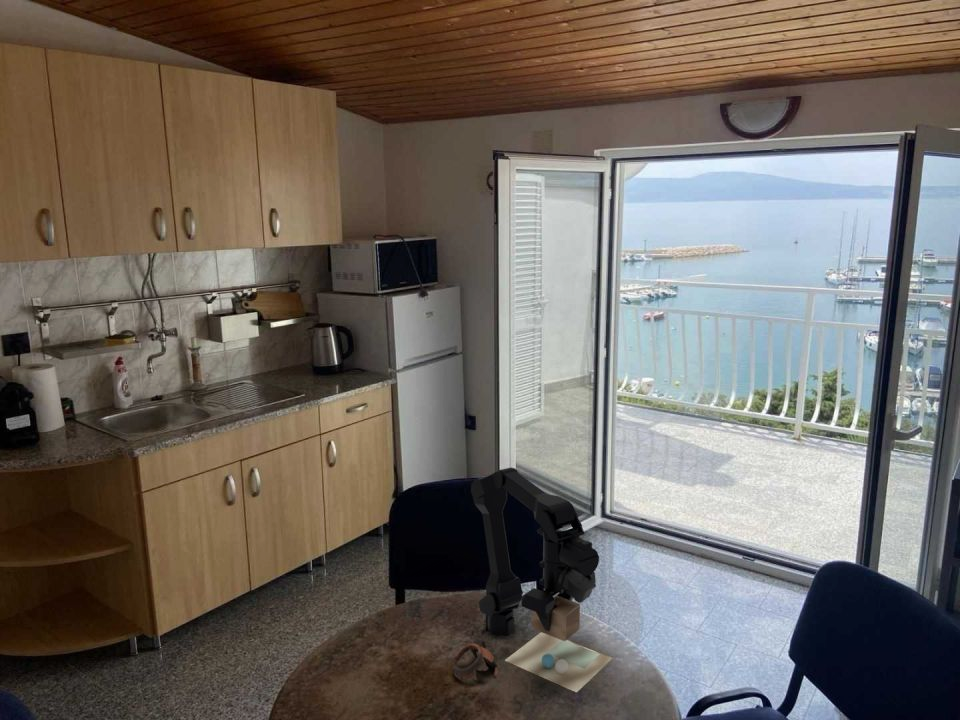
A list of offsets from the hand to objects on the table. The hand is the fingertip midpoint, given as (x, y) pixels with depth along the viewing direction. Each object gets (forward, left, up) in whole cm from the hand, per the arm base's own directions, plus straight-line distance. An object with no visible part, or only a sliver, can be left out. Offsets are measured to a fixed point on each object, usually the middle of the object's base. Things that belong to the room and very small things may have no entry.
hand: (555, 624), depth 156 cm
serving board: (-1, +4, -12) cm, 13 cm away
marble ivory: (+2, 0, -11) cm, 11 cm away
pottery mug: (-14, -11, -12) cm, 21 cm away
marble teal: (-2, 0, -11) cm, 11 cm away
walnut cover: (0, 0, -1) cm, 1 cm away
